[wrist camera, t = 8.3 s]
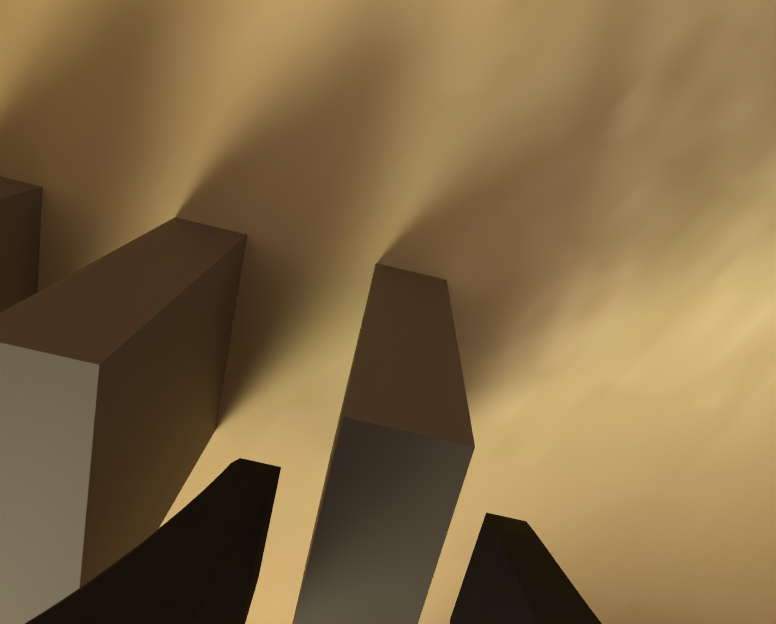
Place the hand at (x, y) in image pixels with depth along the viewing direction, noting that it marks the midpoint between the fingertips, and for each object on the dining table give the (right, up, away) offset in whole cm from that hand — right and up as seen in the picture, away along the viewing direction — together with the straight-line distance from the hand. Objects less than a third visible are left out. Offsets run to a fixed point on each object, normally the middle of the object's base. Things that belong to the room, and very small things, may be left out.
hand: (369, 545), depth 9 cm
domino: (-4, +3, +5) cm, 7 cm away
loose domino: (0, +2, +5) cm, 6 cm away
